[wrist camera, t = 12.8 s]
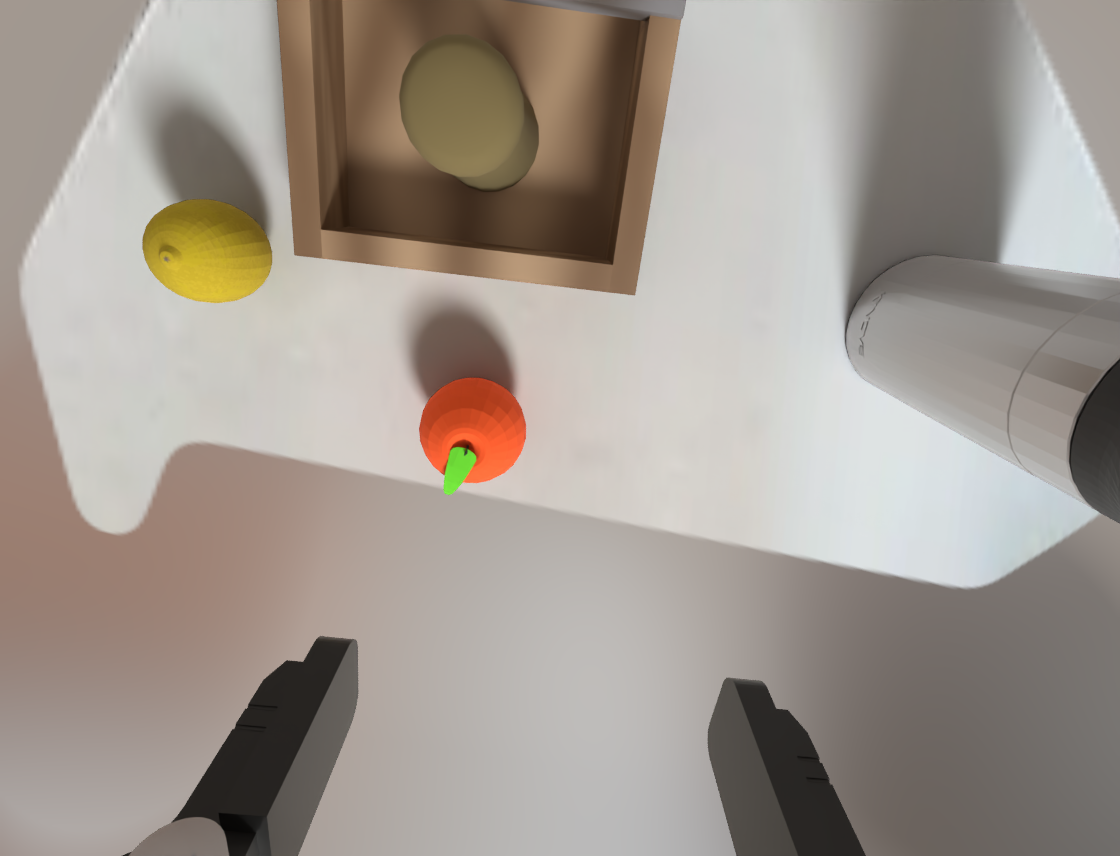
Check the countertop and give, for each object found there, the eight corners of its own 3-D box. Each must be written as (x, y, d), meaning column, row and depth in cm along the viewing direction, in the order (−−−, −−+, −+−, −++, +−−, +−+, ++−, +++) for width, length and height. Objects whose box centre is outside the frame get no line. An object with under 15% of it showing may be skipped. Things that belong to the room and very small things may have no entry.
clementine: (502, 480, 41) (491, 532, 34) (414, 446, 39) (386, 494, 33) (543, 387, 38) (541, 426, 31) (450, 349, 37) (428, 380, 30)
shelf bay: (666, 18, 30) (689, -21, 25) (624, 283, 35) (636, 296, 30) (316, -34, 29) (266, -85, 24) (329, 248, 34) (290, 255, 29)
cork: (532, 199, 33) (523, 196, 22) (432, 183, 32) (377, 174, 22) (545, 84, 30) (542, 23, 20) (438, 66, 30) (379, -6, 20)
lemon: (201, 276, 35) (107, 295, 27) (207, 187, 33) (106, 181, 25) (288, 302, 35) (219, 328, 28) (299, 216, 33) (227, 219, 26)
